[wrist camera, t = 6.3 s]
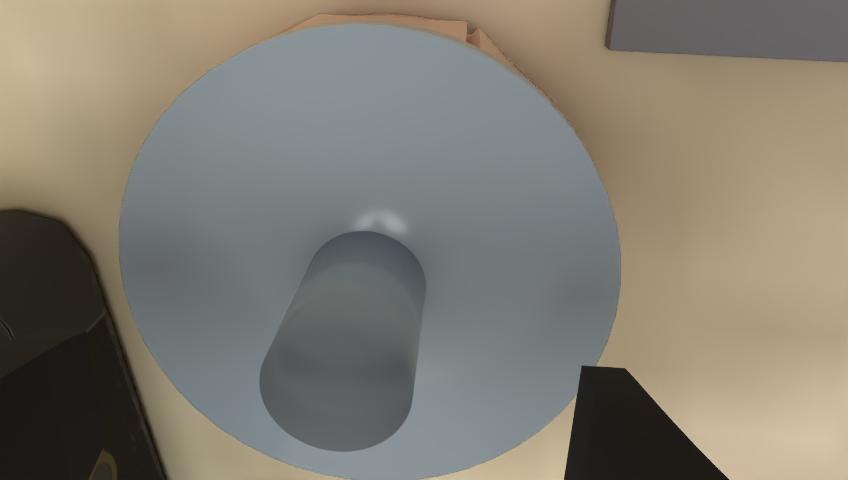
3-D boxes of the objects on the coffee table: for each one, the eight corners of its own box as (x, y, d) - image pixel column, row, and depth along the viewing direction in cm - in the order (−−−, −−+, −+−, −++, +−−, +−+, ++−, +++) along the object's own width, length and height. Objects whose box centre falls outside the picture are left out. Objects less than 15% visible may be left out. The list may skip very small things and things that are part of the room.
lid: (625, 430, 17) (676, 598, 12) (215, 469, 18) (137, 633, 14) (592, -24, 13) (650, 1, 9) (70, 66, 14) (-98, 126, 10)
